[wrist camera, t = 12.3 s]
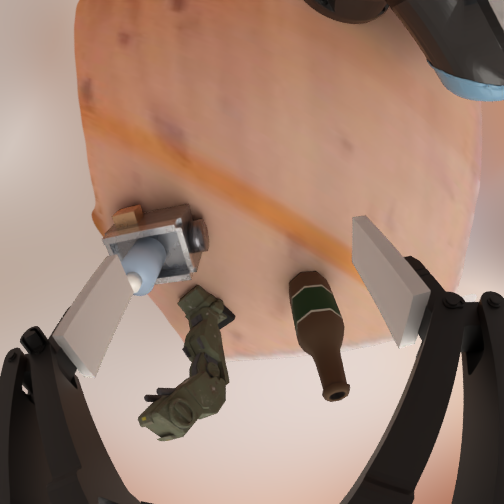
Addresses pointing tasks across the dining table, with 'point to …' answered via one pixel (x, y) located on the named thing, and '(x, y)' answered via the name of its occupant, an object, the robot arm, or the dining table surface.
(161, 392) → the mechanical leg
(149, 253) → the light blue bottle
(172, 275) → the open grey metal box
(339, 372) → the beer bottle
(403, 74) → the dining table surface
